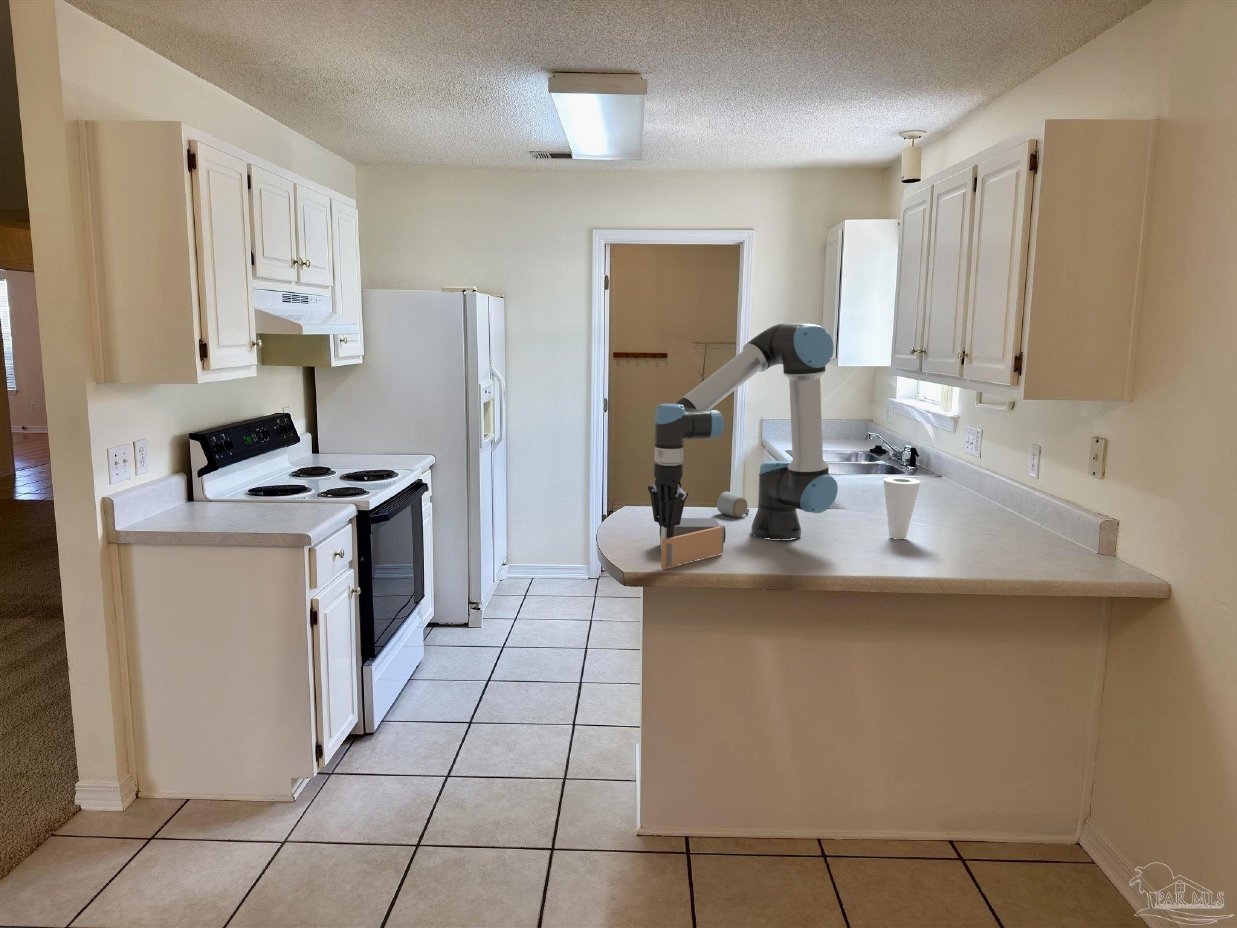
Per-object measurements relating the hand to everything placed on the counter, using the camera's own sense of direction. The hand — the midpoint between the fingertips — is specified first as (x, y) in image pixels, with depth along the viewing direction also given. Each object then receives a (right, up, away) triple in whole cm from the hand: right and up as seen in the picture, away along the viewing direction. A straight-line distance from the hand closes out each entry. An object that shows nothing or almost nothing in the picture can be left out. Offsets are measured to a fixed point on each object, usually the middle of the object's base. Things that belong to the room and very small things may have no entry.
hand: (666, 549), depth 223 cm
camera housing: (+8, -2, +17) cm, 19 cm away
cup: (+73, 0, +33) cm, 80 cm away
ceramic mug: (+27, +5, +60) cm, 66 cm away
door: (+8, -4, +4) cm, 10 cm away
